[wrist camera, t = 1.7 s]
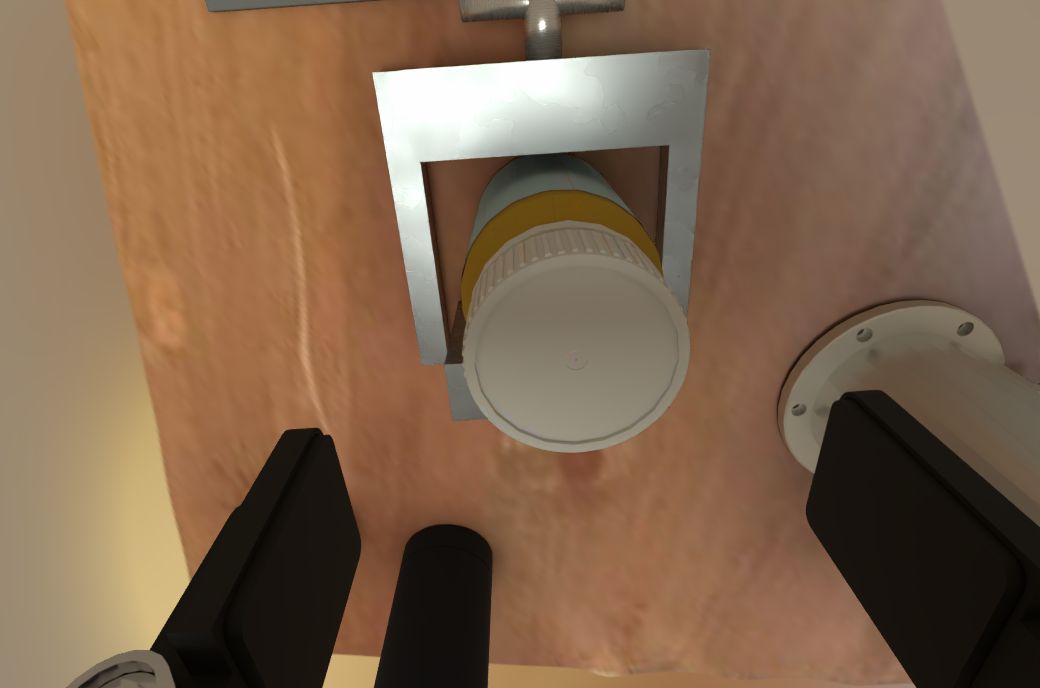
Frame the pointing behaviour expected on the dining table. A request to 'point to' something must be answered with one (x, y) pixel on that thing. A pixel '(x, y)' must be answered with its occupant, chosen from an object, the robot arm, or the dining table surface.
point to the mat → (265, 4)
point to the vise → (537, 143)
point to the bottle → (567, 310)
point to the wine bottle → (440, 613)
